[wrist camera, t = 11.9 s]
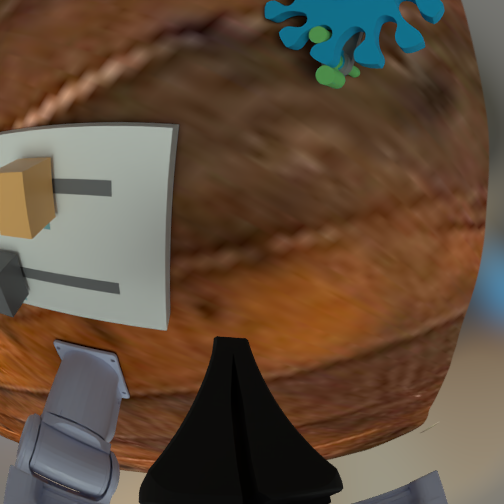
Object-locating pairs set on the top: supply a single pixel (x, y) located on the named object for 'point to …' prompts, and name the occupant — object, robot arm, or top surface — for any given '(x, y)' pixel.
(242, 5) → the top surface
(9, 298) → the black fader
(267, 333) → the top surface
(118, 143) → the fader panel
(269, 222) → the top surface
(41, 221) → the tan fader
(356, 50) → the gear
